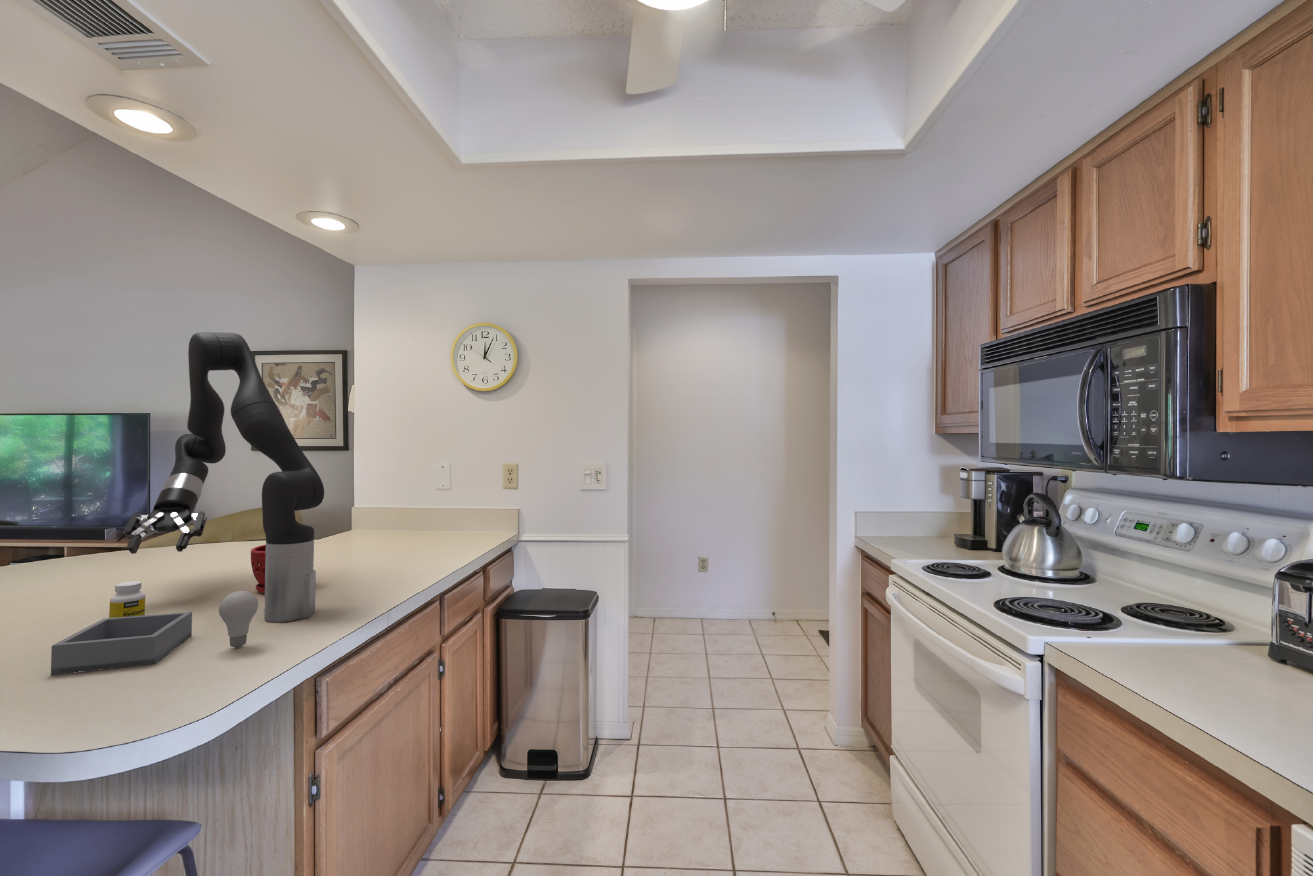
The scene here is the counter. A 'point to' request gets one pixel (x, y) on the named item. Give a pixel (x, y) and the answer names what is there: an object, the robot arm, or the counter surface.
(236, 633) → the lightbulb
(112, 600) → the supplement bottle
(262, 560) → the plant pot
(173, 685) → the counter surface
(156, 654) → the tote
